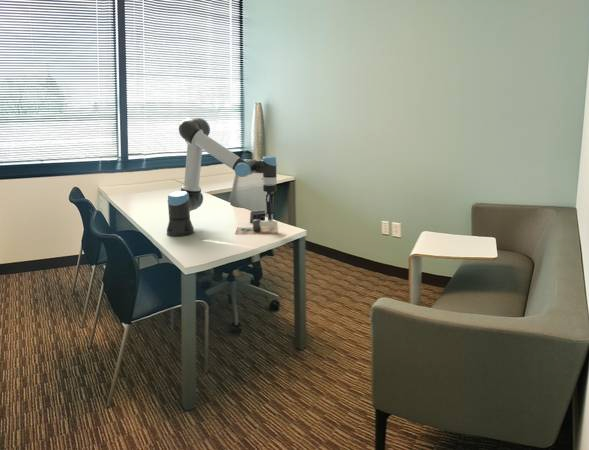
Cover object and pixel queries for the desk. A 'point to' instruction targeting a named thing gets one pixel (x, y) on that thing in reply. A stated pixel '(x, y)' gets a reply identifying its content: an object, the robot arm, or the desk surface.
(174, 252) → the desk surface
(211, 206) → the desk surface
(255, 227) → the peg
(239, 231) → the board
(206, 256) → the desk surface
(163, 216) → the desk surface
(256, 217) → the electrical switch
